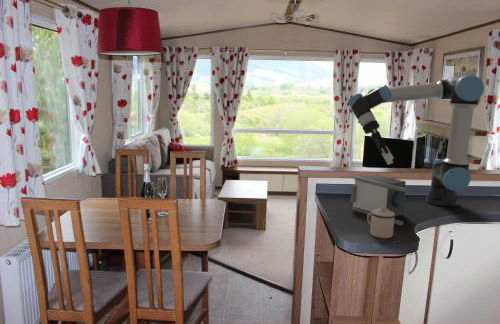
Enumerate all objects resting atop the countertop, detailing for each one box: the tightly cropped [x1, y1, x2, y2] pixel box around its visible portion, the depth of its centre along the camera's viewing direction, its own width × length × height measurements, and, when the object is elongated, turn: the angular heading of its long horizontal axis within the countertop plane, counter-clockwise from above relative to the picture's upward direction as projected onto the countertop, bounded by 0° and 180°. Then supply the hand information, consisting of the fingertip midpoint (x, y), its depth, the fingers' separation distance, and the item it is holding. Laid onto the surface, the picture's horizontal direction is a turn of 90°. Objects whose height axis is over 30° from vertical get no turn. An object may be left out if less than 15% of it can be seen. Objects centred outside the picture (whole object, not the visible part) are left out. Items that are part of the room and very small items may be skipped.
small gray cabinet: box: [351, 174, 407, 226], centre depth 183 cm, size 14×27×16 cm, turn 33°
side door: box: [350, 179, 388, 212], centre depth 183 cm, size 3×18×13 cm, turn 33°
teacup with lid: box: [366, 206, 395, 239], centre depth 158 cm, size 12×9×12 cm
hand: (390, 161), depth 186 cm, fingers open, 13 cm apart
